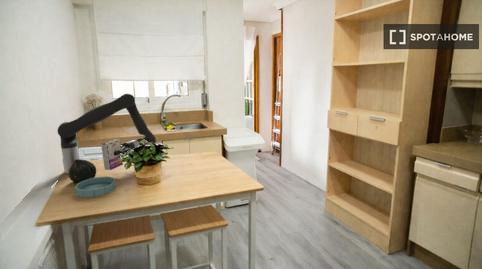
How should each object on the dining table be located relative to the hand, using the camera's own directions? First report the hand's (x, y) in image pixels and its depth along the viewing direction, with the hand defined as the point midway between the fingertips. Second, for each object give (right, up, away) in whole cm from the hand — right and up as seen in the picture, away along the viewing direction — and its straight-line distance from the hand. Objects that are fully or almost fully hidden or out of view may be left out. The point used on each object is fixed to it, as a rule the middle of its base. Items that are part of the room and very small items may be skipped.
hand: (110, 153), depth 179 cm
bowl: (-1, -19, -15) cm, 24 cm away
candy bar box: (+1, -9, +3) cm, 9 cm away
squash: (-16, -17, -1) cm, 23 cm away
